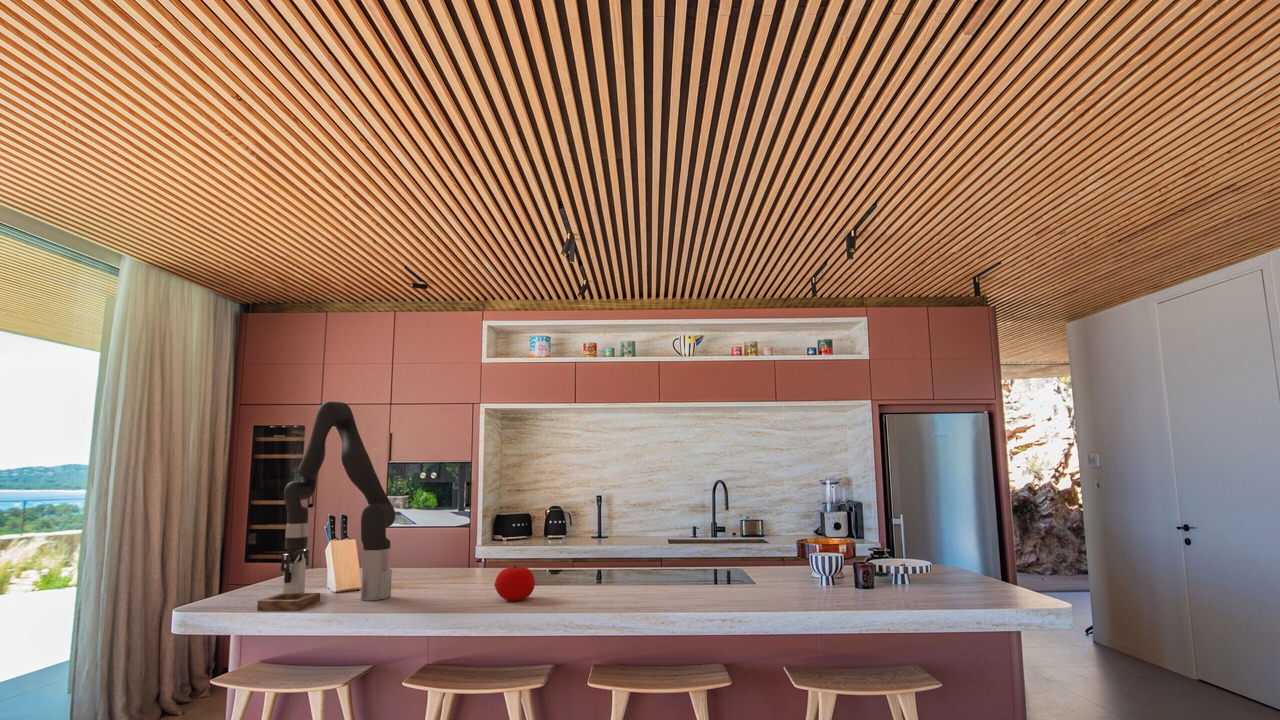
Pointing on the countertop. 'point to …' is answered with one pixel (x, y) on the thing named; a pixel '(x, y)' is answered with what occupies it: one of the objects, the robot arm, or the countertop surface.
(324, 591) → the countertop surface
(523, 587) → the tomato
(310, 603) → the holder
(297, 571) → the skincare box
